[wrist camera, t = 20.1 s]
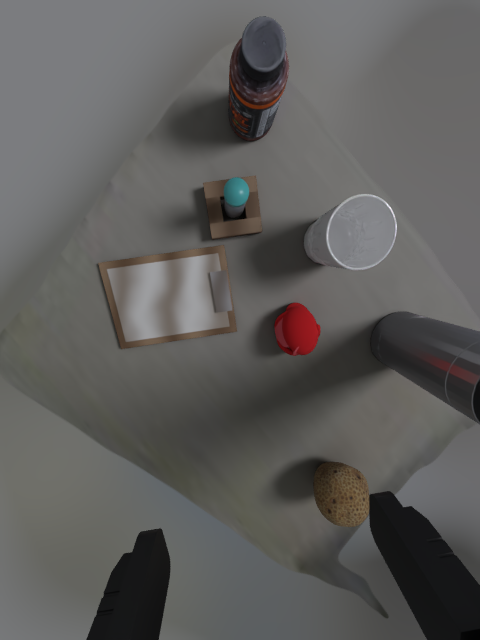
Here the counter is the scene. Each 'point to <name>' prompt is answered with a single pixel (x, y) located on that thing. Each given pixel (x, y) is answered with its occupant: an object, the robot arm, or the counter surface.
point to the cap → (296, 330)
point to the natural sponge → (341, 494)
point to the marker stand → (235, 227)
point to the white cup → (352, 234)
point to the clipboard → (169, 296)
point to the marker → (235, 197)
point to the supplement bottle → (257, 78)
